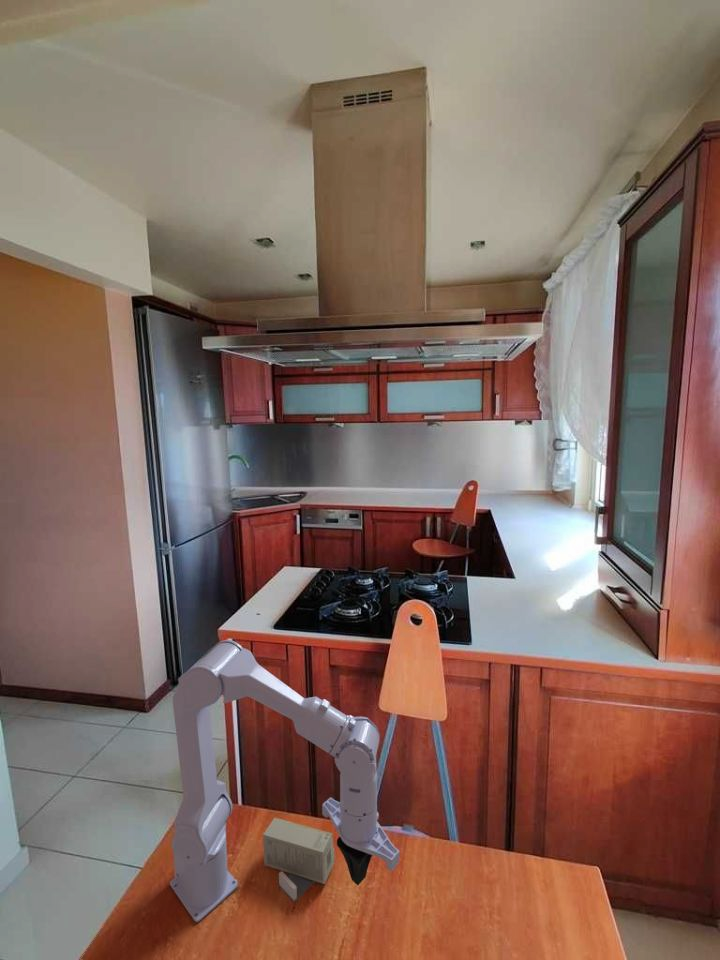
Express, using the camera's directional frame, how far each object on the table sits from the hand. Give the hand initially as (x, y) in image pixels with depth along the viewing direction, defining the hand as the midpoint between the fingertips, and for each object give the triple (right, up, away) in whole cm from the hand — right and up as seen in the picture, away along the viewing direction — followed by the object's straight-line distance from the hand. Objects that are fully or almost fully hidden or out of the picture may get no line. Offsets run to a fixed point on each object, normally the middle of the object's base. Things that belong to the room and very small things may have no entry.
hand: (358, 878), depth 72 cm
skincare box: (-5, -4, +8) cm, 10 cm away
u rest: (-9, -7, +9) cm, 15 cm away
